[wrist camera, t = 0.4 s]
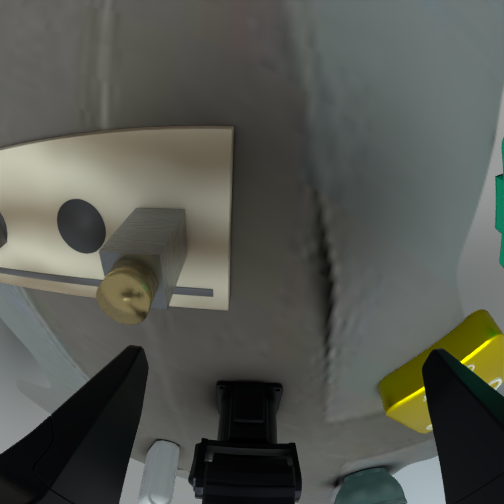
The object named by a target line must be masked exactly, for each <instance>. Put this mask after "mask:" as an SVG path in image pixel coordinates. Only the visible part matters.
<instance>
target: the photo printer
mask: <svg viewBox="0 0 504 504" xmlns="http://www.w3.org/2000/svg"><path fill="white" fill-rule="evenodd" d="M178 458H179V447H178V446H177V445H176V444H174V443H172V442H169V441H164V440H161V441H156V442H155V443H154V444H153V445H152V447H151V448H150V450H149V451H148V453H147V457H146V462H145V467H144V472H143V477H142V482H141V487H140V492H139V498H138V502H139V504H171V503H172V498H173V491H174V485H175V478H176V471H177V465H178Z"/></svg>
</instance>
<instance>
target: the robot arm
mask: <svg viewBox="0 0 504 504" xmlns="http://www.w3.org/2000/svg"><path fill="white" fill-rule="evenodd" d="M147 376H148V362H147V359H146V355H145V352H144V349H143V347H141V346H135V345H129V346H128V347H126V348H125V349H124V350H123V351H122V352H121V353H120V354H118V355H117V356H116V357H115V358H114V359H113V360H112V361H111V362H109V363H108V364H107V365H106V366H105V367H104V368H103V369H102V370H100V371H99V372H98V373H97V374H96V375H95V376H94V377H93V378H91V379H90V380H89V381H88V382H87V383H86V384H85V385H84V386H82V387H81V388H80V389H79V390H78V391H77V392H76V393H75V394H73V395H72V396H71V397H70V398H69V399H68V400H67V401H66V402H65V403H63V404H62V405H61V406H60V407H59V408H58V409H57V410H56V411H55V412H53V413H52V414H51V416H49V417H48V418H47V419H46V420H44V421H43V423H41V424H40V425H39V426H38V427H36V429H34V430H33V431H32V432H30V433H29V434H28V435H27V436H25V437H24V438H23V439H21V440H20V441H19V442H17V443H16V444H15V445H13V446H12V447H10V448H9V449H7V450H6V451H4V452H3V453H2V454H0V504H119V500H120V497H121V492H122V487H123V483H124V479H125V475H126V471H127V466H128V463H129V458H130V455H131V451H132V447H133V443H134V440H135V436H136V432H137V429H138V425H139V421H140V417H141V413H142V407H143V400H144V394H145V388H146V382H147ZM422 376H423V382H424V388H425V394H426V400H427V406H428V411H429V416H430V420H431V424H432V428H433V433H434V437H435V442H436V446H437V451H438V456H439V461H440V466H441V473H442V479H443V485H444V492H445V500H446V504H504V397H503V396H502V395H501V394H499V393H498V392H497V391H496V390H495V389H494V388H492V387H491V386H490V385H489V384H487V383H486V382H485V381H484V380H483V379H481V378H480V377H479V376H478V375H476V374H475V373H474V372H473V371H471V370H470V369H469V368H468V367H466V366H465V365H464V364H463V363H461V362H460V361H459V360H458V359H456V358H455V357H454V356H452V355H451V354H450V353H449V352H447V351H446V350H445V349H443V348H439V349H433V350H432V351H431V352H430V354H429V355H428V357H427V359H426V361H425V362H424V364H423V366H422ZM216 391H217V405H218V414H220V418H219V429H218V439H217V440H208V439H206V438H202V441H201V443H198V444H196V445H195V453H194V459H193V463H192V467H191V471H190V475H189V480H188V481H189V483H190V484H191V485H192V486H193V490H194V492H195V498H197V499H202V504H295V502H298V501H299V499H300V496H301V490H302V478H301V471H300V466H299V461H298V455H297V450H296V445H295V443H289V444H277V425H276V414H277V411H278V407H279V403H280V399H281V395H282V391H283V387H282V385H280V384H251V383H232V382H218V383H217V385H216ZM209 460H212V462H209Z"/></svg>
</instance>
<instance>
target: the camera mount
mask: <svg viewBox="0 0 504 504" xmlns="http://www.w3.org/2000/svg"><path fill="white" fill-rule="evenodd" d="M502 158H503V174H500V175H497V176H495V186H496V189H495V190H496V210H495V228H496V229H497V230H498V231H499V232H500V233H501V234H502V242H501V252H500V264H501V266H502V267H503V268H504V138H503V141H502Z"/></svg>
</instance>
